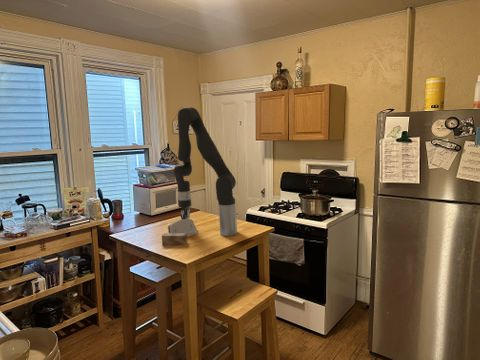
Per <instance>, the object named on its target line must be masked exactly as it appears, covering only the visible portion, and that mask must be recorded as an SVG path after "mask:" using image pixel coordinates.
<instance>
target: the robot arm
mask: <svg viewBox="0 0 480 360" xmlns="http://www.w3.org/2000/svg"><path fill="white" fill-rule="evenodd" d="M177 126H178V127H177V128H178V130H177V131H178V149H177V159H178V161H180V162H182V164H178V165H175V166H174V168H173V176H174V177H175V178H174V179H175V182H176V184H177V185H176V186H177V201H178V202H177V203H178V207H179V208H180V209H181V210H180V212H181V213H180V215H179V216H180V220H181V219H190V215H191V208H190V207H192V193H191V186H190V185H191V184H190V181H189V180H185V179H184V177H189V176H191V175H192V173H193V165H192V161H191V160H192V159H191V156H192V155H191V154H192V144H191V140H190V134H189V129H190V127H191V129H192V130H193V132H194V135H195V140H196V146H197V150H198V151H199V153H200V155H201V156H202V159H203V160H204V161H205V162H206V163H207V164H208V165H209V166H210V167H211V168H212V169H213V171H214V172H215V174H216V176H217V178H216V181H215V192H216V200H217V202H218V218H219V235H221V236H223V237H232V236H236V235H237V233H238V221H237V215H236V214H237V213H236V212H237V211H236V199H235V197H234V193H233V189H234V188H235V187H236V184H237V182H236V179H235V176H234V175H233V174H232V172H231V171H230V169H229V168H228V166H227V165H226V163H225V161H224V159H223V157H222V155H221V153H220V151H219V149H218V148H217V146H216V144H215V142H214V140H213V139H212V137H211V135H210V134H209V132H208V130H207V128H206V126H205V124H204V122H203V119H202V117H201V114H200V113H199V111H198V110H197V109H196V108H195V107H190V106H189V107H182V108H180V109H179V110H178V113H177Z"/></svg>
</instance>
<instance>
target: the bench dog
mask: <svg viewBox="0 0 480 360" xmlns="http://www.w3.org/2000/svg"><path fill="white" fill-rule="evenodd" d="M161 243H162V246H186V244H187V243H188V236H187V234H186V233H168V232H166V233H165V232H164V233H163V234H162V235H161Z"/></svg>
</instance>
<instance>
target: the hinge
mask: <svg viewBox="0 0 480 360" xmlns="http://www.w3.org/2000/svg"><path fill="white" fill-rule="evenodd" d="M194 222H195V221H194V220H193V219H192V218H191V219H190V218H189V219H181V218H180V219H178V220H176V221H173V222H171V223H170V224H168V226H167V233H186V234H187V237H190V236H193V235H195V234H199V231H198V229H197V227H196V224H195V223H194Z"/></svg>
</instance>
